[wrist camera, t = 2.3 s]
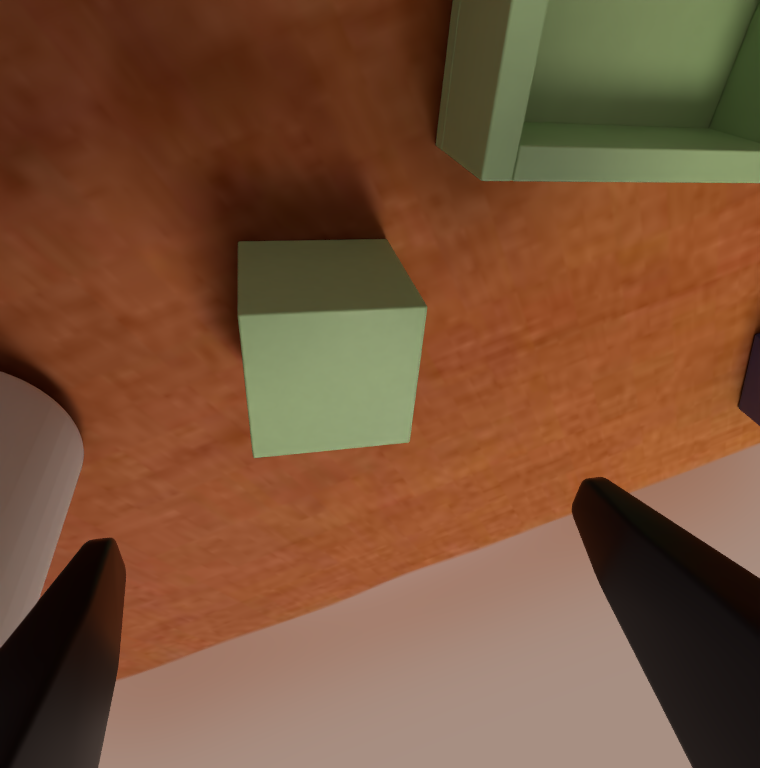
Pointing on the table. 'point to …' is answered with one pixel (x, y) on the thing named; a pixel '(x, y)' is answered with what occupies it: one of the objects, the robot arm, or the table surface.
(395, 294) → the sage block
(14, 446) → the beverage can
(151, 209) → the table surface
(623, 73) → the sage bin
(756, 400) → the navy block
